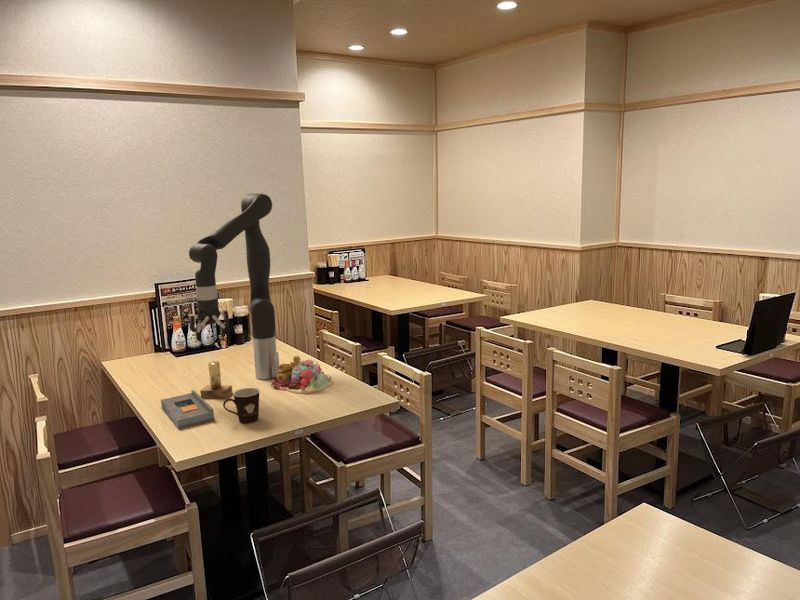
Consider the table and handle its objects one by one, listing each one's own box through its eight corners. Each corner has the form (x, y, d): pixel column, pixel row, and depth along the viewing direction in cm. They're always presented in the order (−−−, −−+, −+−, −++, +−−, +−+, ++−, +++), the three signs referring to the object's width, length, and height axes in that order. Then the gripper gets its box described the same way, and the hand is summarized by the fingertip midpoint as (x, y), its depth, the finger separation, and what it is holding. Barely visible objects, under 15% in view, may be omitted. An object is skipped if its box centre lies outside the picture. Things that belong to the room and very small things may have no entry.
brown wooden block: (232, 392, 233) (231, 385, 233) (226, 398, 228) (225, 390, 227) (207, 392, 235) (207, 385, 234) (201, 397, 229) (200, 390, 228)
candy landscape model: (260, 388, 239) (258, 365, 237) (296, 370, 259) (295, 350, 257) (311, 397, 227) (310, 373, 226) (345, 378, 248) (344, 356, 246)
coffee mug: (263, 414, 211) (261, 387, 209) (259, 424, 202) (256, 396, 200) (230, 416, 210) (227, 388, 208) (224, 426, 202) (221, 397, 200)
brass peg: (223, 386, 232) (220, 361, 230) (218, 389, 228) (216, 364, 226) (213, 386, 233) (211, 361, 231) (208, 389, 229) (206, 364, 227)
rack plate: (214, 420, 207) (213, 409, 206) (178, 428, 201) (177, 417, 200) (194, 400, 227) (193, 390, 226) (161, 407, 220) (160, 397, 219)
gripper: (223, 293, 230) (226, 334, 234) (184, 298, 223) (189, 340, 226) (229, 296, 224) (232, 338, 228) (190, 301, 217) (194, 345, 220)
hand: (211, 339), depth 227 cm, fingers open, 8 cm apart
